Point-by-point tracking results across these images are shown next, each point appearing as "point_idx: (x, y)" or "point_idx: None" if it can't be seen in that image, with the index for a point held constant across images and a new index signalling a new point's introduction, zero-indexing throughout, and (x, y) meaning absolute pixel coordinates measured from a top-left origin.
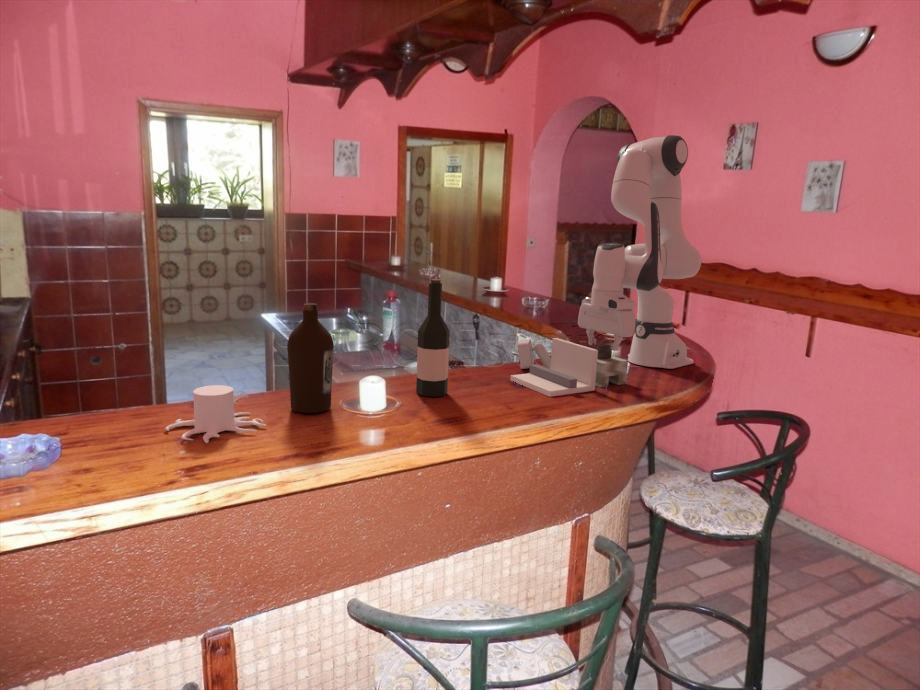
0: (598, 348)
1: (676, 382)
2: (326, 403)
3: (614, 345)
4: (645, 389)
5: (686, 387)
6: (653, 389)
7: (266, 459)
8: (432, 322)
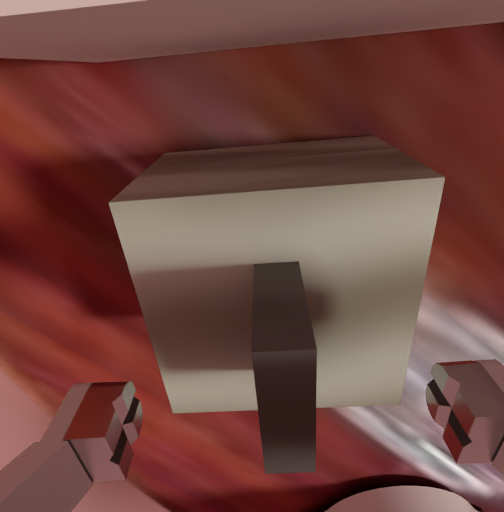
0: (267, 327)
1: (169, 460)
2: None
3: (46, 431)
4: (94, 329)
5: None
6: (91, 354)
7: None
8: None
